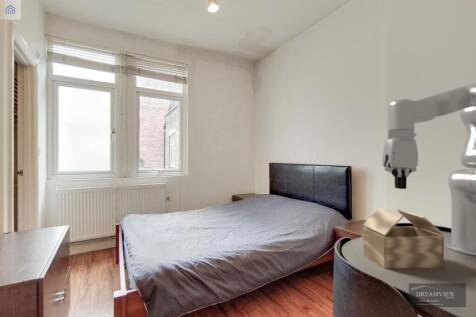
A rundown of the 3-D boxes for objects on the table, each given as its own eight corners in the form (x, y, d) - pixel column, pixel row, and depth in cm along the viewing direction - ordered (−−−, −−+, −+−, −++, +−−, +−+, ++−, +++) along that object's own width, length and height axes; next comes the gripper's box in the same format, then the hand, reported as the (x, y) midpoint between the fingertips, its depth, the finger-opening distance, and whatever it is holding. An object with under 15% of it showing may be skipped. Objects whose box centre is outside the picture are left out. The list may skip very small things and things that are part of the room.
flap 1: (380, 208, 88) (379, 207, 88) (404, 216, 77) (403, 214, 77) (363, 225, 88) (362, 224, 88) (385, 235, 76) (384, 234, 76)
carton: (413, 253, 89) (414, 226, 89) (443, 267, 77) (443, 236, 78) (362, 253, 88) (363, 226, 88) (385, 268, 76) (385, 237, 76)
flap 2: (414, 225, 89) (414, 224, 89) (442, 235, 78) (443, 234, 78) (396, 210, 89) (397, 209, 89) (423, 217, 77) (424, 216, 77)
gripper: (412, 137, 87) (412, 187, 87) (373, 136, 86) (372, 187, 86) (430, 135, 80) (430, 189, 80) (387, 134, 79) (387, 189, 79)
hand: (400, 188), depth 83 cm, fingers closed
